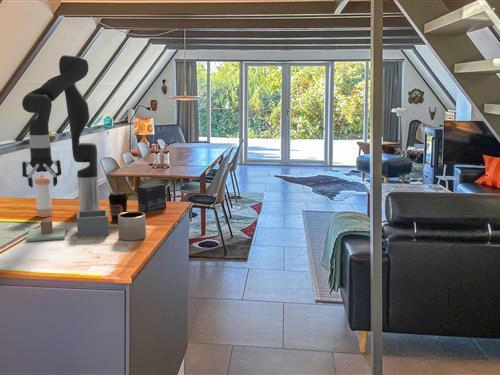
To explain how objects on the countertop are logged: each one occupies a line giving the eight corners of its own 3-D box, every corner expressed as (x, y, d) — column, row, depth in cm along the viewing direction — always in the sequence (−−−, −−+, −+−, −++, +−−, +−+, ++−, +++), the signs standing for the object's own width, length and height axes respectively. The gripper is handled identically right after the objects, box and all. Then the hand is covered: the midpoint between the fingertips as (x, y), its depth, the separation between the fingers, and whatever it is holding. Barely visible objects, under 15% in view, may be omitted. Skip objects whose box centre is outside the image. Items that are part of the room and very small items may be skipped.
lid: (30, 233, 211) (29, 217, 210) (66, 230, 215) (65, 215, 214) (26, 242, 198) (25, 226, 197) (64, 240, 202) (63, 224, 201)
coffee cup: (123, 224, 225) (122, 195, 222) (105, 223, 226) (104, 194, 224) (131, 219, 233) (130, 191, 231) (114, 218, 235) (113, 190, 232)
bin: (78, 229, 215) (77, 211, 214) (108, 227, 219) (107, 209, 217) (77, 237, 204) (76, 218, 203) (108, 235, 208) (107, 216, 206)
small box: (157, 205, 260) (156, 182, 258) (166, 207, 257) (166, 184, 254) (137, 210, 250) (136, 186, 248) (147, 212, 246) (146, 188, 244)
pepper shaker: (33, 216, 237) (29, 175, 234) (44, 212, 244) (41, 173, 240) (45, 217, 235) (42, 176, 231) (56, 214, 241) (53, 174, 237)
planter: (121, 233, 210) (120, 211, 208) (147, 233, 211) (146, 211, 209) (116, 241, 199) (115, 218, 198) (144, 241, 200) (143, 217, 198)
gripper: (60, 144, 205) (62, 184, 208) (21, 145, 201) (25, 185, 204) (58, 146, 198) (61, 187, 201) (19, 147, 194) (22, 189, 197)
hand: (43, 186), depth 203 cm, fingers open, 8 cm apart
